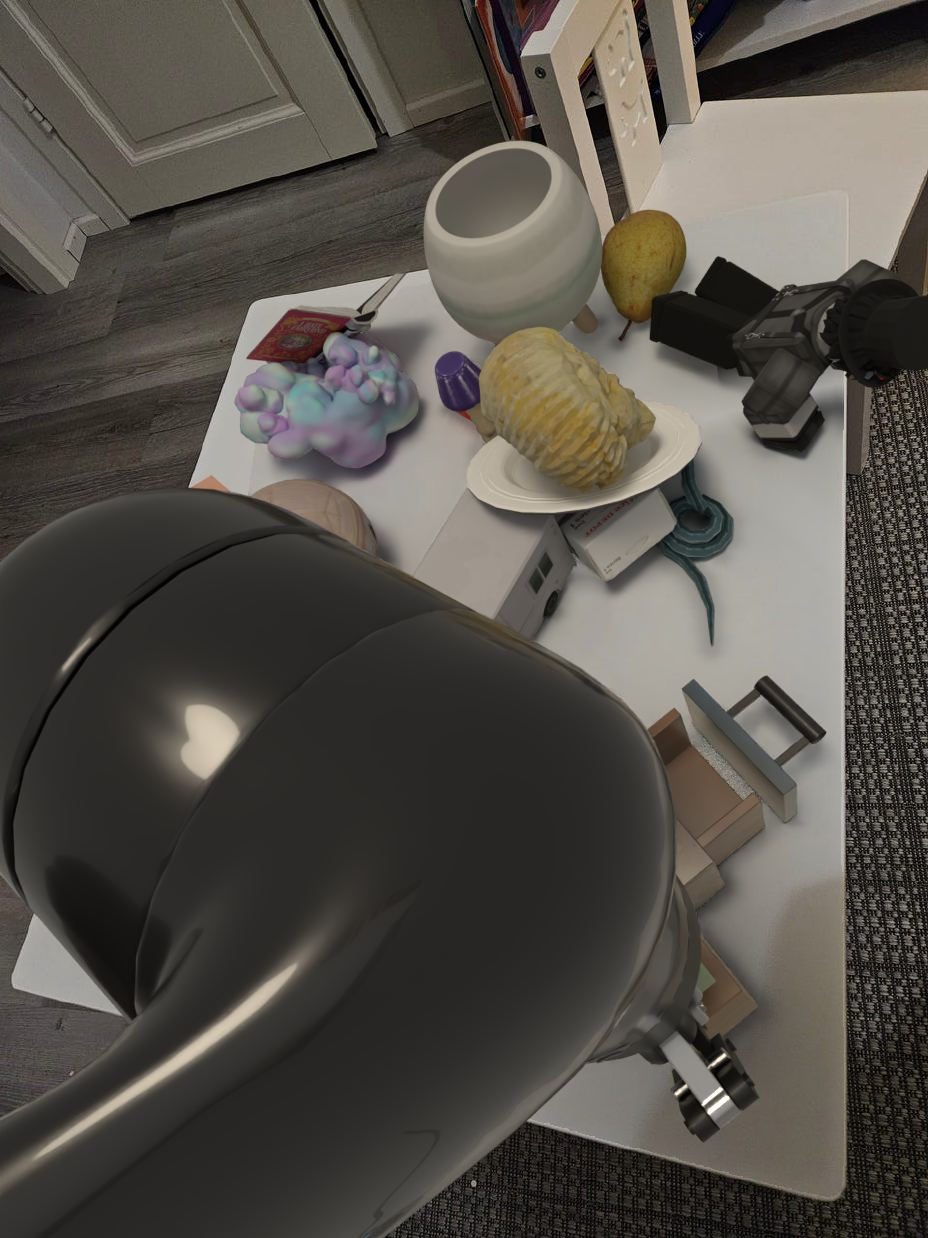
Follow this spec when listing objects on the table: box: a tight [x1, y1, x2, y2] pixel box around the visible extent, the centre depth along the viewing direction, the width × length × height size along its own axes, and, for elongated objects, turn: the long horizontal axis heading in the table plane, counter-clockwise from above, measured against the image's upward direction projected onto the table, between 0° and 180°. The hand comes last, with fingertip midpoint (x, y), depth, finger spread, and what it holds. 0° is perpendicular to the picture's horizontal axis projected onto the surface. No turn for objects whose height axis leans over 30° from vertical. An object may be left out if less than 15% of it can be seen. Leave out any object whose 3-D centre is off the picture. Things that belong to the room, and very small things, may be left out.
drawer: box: [647, 675, 827, 867], centre depth 66 cm, size 14×10×9 cm
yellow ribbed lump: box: [479, 327, 656, 493], centre depth 70 cm, size 17×11×15 cm
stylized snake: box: [657, 459, 734, 646], centre depth 77 cm, size 7×20×6 cm, turn 4°
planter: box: [423, 140, 603, 348], centre depth 85 cm, size 16×16×22 cm
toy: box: [648, 255, 928, 452], centre depth 79 cm, size 16×14×28 cm
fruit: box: [600, 209, 687, 342], centre depth 90 cm, size 9×9×12 cm
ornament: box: [250, 478, 380, 558], centre depth 85 cm, size 15×15×15 cm
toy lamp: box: [434, 350, 498, 444], centre depth 83 cm, size 5×5×17 cm
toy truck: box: [412, 486, 578, 641], centre depth 79 cm, size 13×20×10 cm, turn 135°
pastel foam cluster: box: [234, 269, 420, 469], centre depth 95 cm, size 20×22×18 cm
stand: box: [649, 933, 759, 1065], centre depth 55 cm, size 6×6×22 cm
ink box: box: [554, 487, 677, 582], centre depth 80 cm, size 9×5×12 cm
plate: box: [465, 400, 703, 515], centre depth 77 cm, size 21×21×2 cm
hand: (645, 969), depth 41 cm, fingers closed on block, 4 cm apart
